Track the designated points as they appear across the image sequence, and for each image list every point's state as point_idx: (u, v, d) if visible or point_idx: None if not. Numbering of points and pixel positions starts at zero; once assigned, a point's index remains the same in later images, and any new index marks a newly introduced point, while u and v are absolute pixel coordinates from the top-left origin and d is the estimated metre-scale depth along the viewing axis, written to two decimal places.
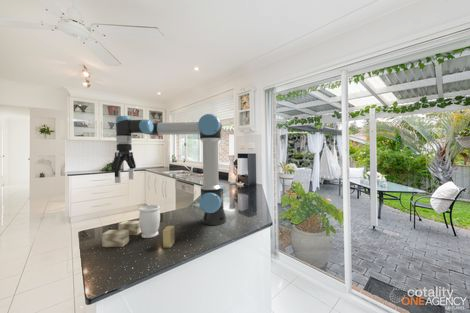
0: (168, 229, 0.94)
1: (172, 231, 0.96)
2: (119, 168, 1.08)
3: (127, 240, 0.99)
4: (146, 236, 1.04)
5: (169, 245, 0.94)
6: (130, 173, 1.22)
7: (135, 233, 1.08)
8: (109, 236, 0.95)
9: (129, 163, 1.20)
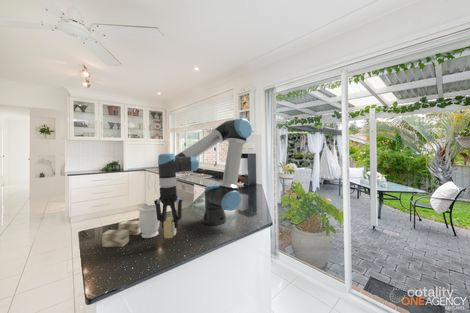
0: (169, 220, 0.94)
1: None
2: (163, 219, 0.96)
3: (127, 240, 0.99)
4: (146, 236, 1.04)
5: (170, 236, 0.94)
6: None
7: (135, 233, 1.08)
8: (109, 236, 0.95)
9: None
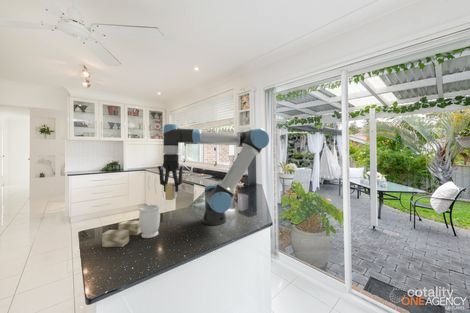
0: (171, 184, 1.05)
1: None
2: (165, 183, 1.06)
3: (127, 240, 0.99)
4: (146, 236, 1.04)
5: (171, 198, 1.04)
6: None
7: (135, 233, 1.08)
8: (109, 236, 0.95)
9: None
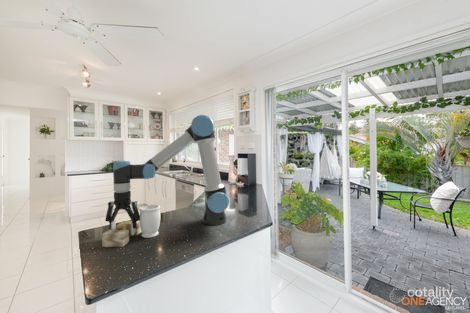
0: (122, 224, 1.02)
1: (126, 226, 1.03)
2: (111, 219, 1.03)
3: (127, 240, 0.99)
4: (146, 236, 1.04)
5: None
6: None
7: (135, 233, 1.08)
8: (109, 236, 0.95)
9: None
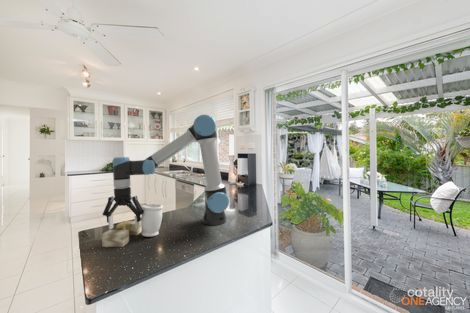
0: (122, 224, 1.02)
1: (126, 226, 1.03)
2: (108, 214, 1.03)
3: (127, 240, 0.99)
4: (147, 234, 1.04)
5: None
6: None
7: (135, 233, 1.08)
8: (109, 236, 0.95)
9: None
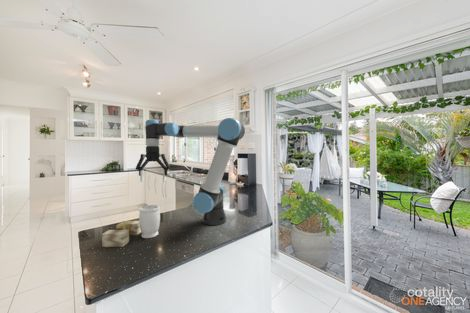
0: (122, 224, 1.02)
1: (126, 226, 1.03)
2: (140, 168, 1.21)
3: (127, 240, 0.99)
4: (146, 236, 1.04)
5: None
6: None
7: (135, 233, 1.08)
8: (109, 236, 0.95)
9: None
